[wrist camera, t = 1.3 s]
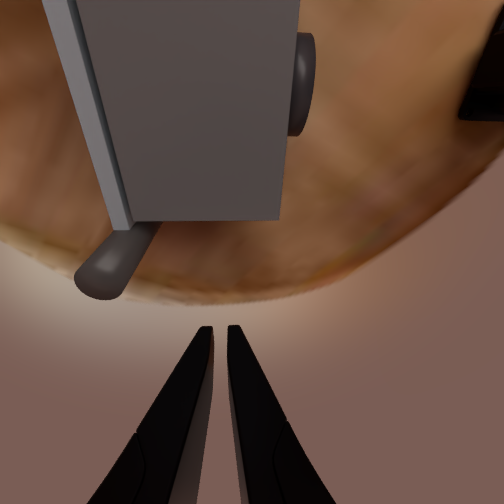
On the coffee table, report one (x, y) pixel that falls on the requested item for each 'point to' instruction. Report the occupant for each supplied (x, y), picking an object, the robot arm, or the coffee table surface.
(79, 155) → the coffee table surface
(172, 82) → the block
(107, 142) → the side door
